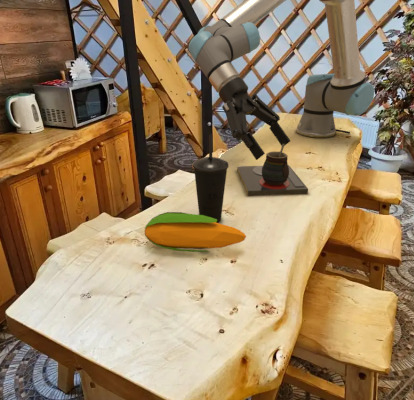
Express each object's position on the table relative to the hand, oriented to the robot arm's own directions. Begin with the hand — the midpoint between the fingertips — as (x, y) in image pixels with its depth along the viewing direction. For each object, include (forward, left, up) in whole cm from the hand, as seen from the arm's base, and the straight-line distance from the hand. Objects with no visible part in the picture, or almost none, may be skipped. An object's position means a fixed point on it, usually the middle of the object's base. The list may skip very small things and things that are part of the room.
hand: (274, 150), depth 97 cm
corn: (+22, +28, -11) cm, 38 cm away
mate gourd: (-1, +1, -9) cm, 9 cm away
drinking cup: (+18, +17, -11) cm, 27 cm away
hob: (-1, -4, -11) cm, 11 cm away
